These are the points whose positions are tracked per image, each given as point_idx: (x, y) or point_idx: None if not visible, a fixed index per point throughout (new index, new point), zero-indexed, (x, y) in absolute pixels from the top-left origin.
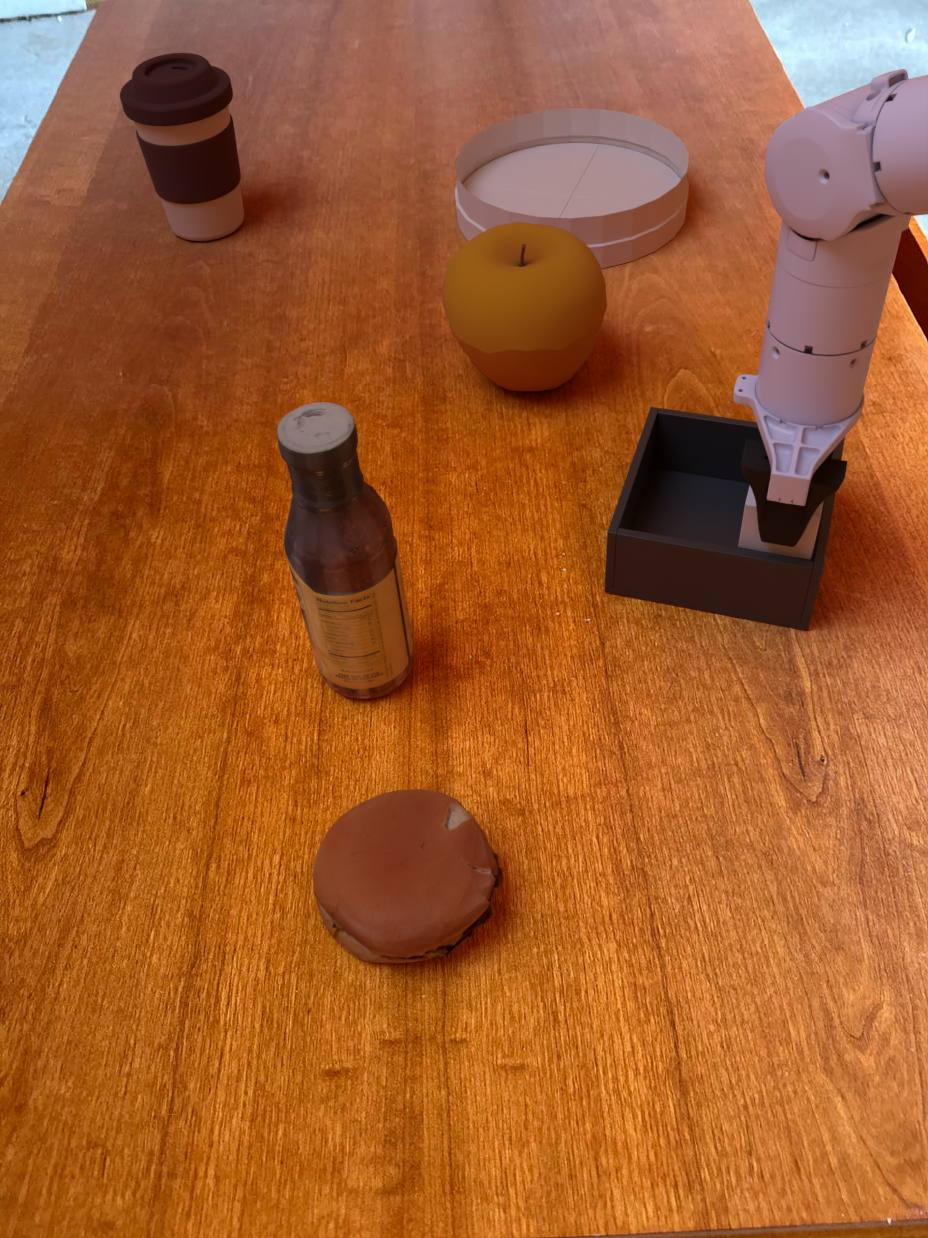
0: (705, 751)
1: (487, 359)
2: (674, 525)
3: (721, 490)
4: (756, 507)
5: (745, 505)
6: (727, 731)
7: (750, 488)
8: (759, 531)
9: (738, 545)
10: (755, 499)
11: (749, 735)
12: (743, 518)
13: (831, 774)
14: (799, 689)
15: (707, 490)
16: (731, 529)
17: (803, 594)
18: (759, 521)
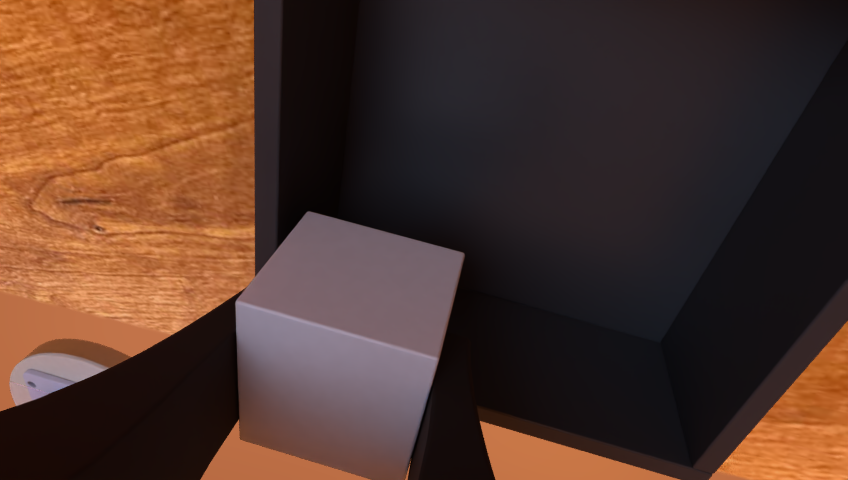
0: (34, 66)
1: None
2: (598, 28)
3: (722, 157)
4: (160, 342)
5: (237, 299)
6: (86, 105)
7: (306, 326)
8: (241, 292)
9: (307, 213)
10: (111, 367)
11: (94, 138)
12: (264, 267)
13: (81, 235)
14: (205, 221)
15: (731, 123)
16: (572, 165)
17: None
18: (204, 315)
